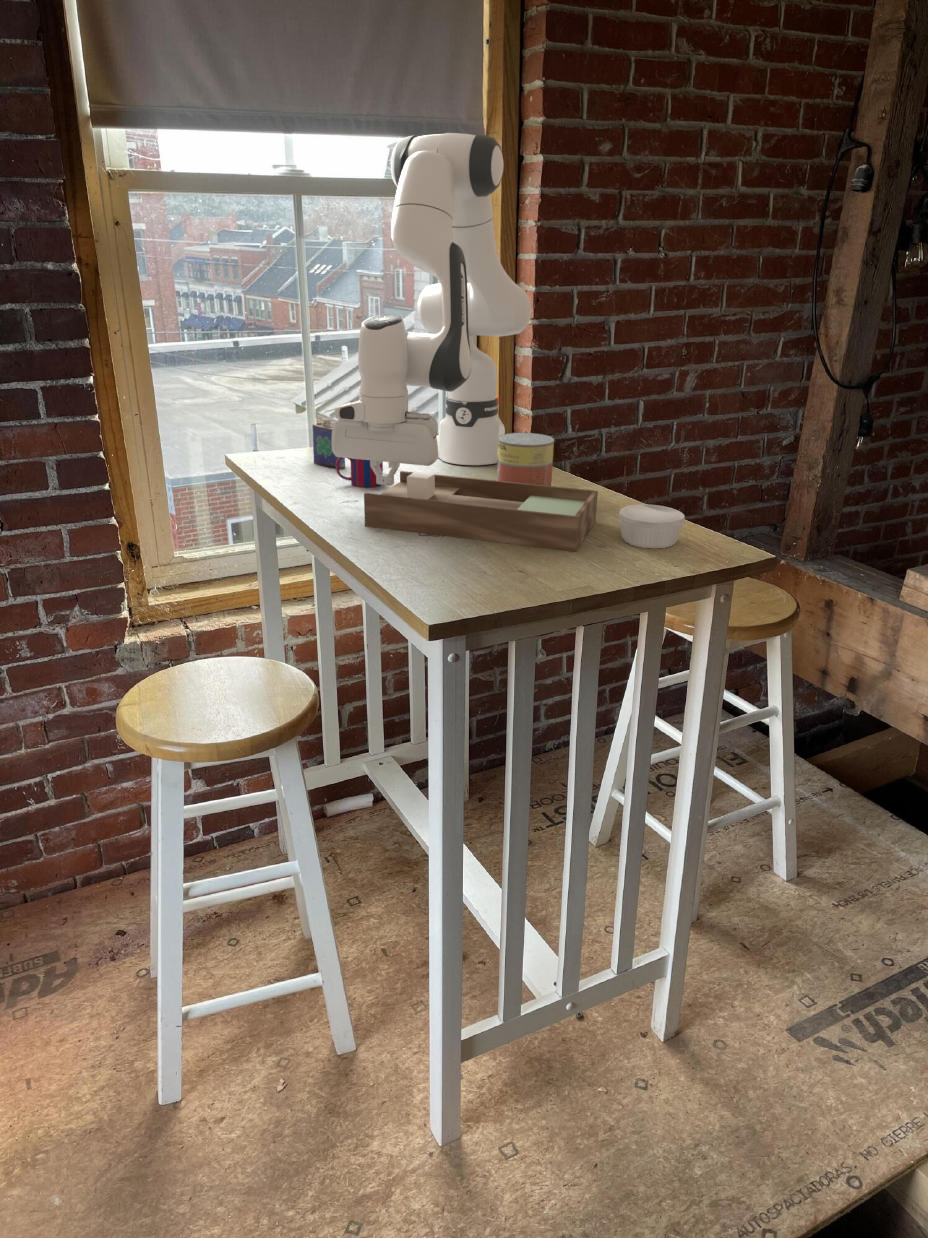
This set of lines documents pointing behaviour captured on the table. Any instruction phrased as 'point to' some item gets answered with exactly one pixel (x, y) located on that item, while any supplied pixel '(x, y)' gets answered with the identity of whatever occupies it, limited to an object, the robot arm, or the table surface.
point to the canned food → (525, 458)
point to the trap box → (488, 511)
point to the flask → (324, 445)
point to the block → (420, 485)
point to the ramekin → (650, 525)
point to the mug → (360, 473)
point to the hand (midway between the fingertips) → (385, 484)
